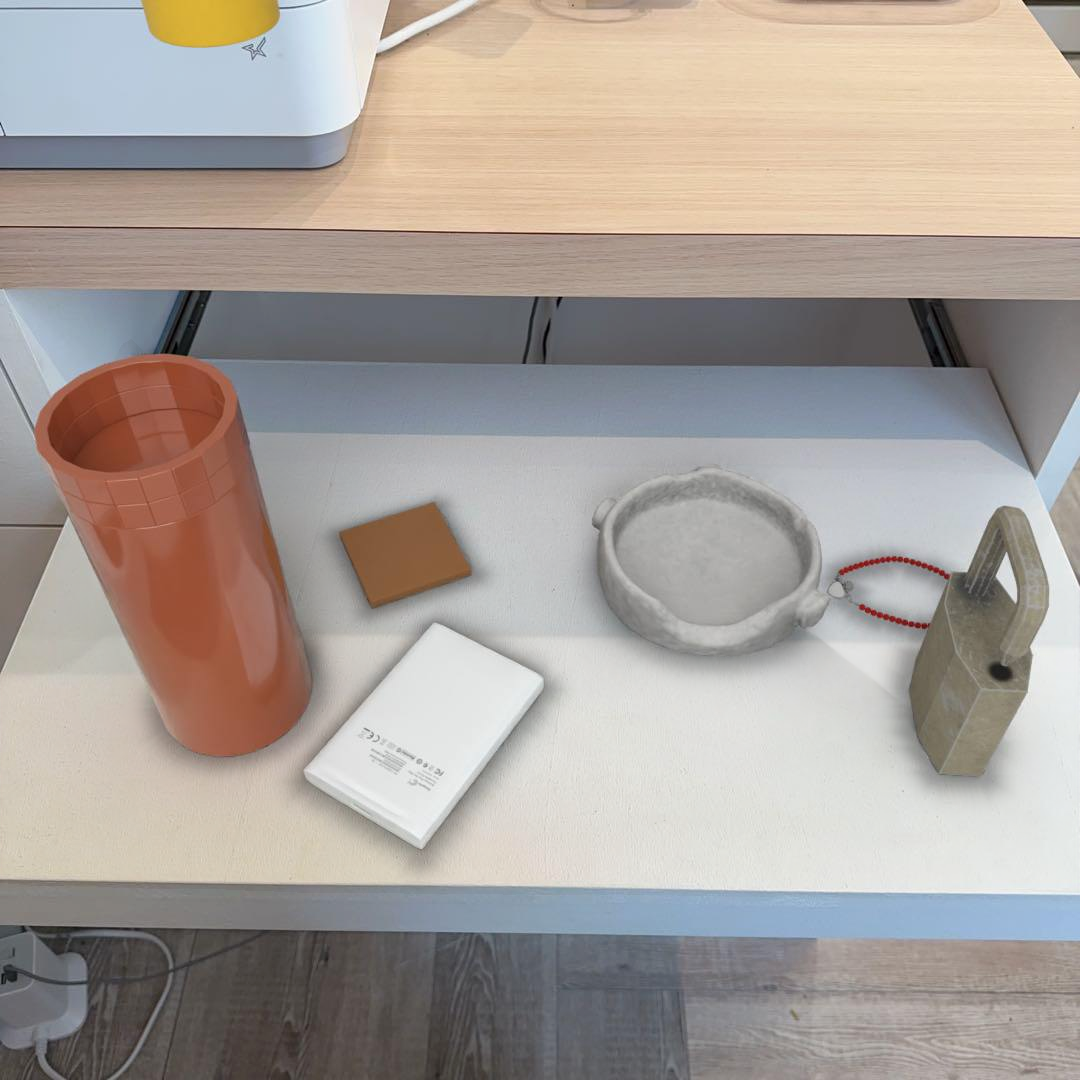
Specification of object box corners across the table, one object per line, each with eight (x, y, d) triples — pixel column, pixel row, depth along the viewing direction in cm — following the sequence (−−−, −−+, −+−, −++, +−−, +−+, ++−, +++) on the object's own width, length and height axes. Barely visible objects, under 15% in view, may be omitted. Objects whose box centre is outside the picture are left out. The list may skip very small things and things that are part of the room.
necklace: (824, 617, 69) (827, 607, 68) (826, 549, 73) (829, 539, 72) (964, 638, 68) (969, 628, 67) (959, 568, 72) (963, 558, 71)
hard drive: (544, 692, 65) (422, 852, 58) (434, 636, 68) (306, 781, 61) (544, 676, 64) (420, 837, 57) (433, 619, 67) (301, 766, 60)
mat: (371, 608, 70) (370, 602, 70) (339, 537, 74) (338, 531, 74) (471, 575, 72) (471, 569, 72) (435, 507, 76) (434, 501, 76)
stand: (178, 779, 61) (47, 504, 45) (149, 663, 67) (24, 383, 51) (330, 724, 64) (257, 445, 48) (290, 617, 70) (213, 335, 54)
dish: (845, 645, 68) (862, 594, 64) (634, 692, 65) (640, 641, 62) (755, 491, 77) (766, 438, 74) (569, 527, 75) (570, 474, 71)
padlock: (924, 773, 61) (1005, 603, 50) (902, 659, 67) (970, 483, 56) (995, 778, 61) (1092, 608, 50) (967, 662, 67) (1048, 487, 56)
